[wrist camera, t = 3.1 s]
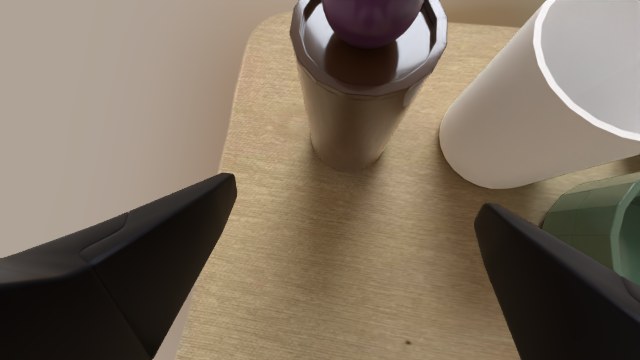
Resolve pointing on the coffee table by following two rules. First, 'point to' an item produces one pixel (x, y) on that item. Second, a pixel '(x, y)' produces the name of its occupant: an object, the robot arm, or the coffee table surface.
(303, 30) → the brown canister
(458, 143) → the mug
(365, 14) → the ball
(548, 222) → the bowl
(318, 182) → the coffee table surface
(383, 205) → the coffee table surface
